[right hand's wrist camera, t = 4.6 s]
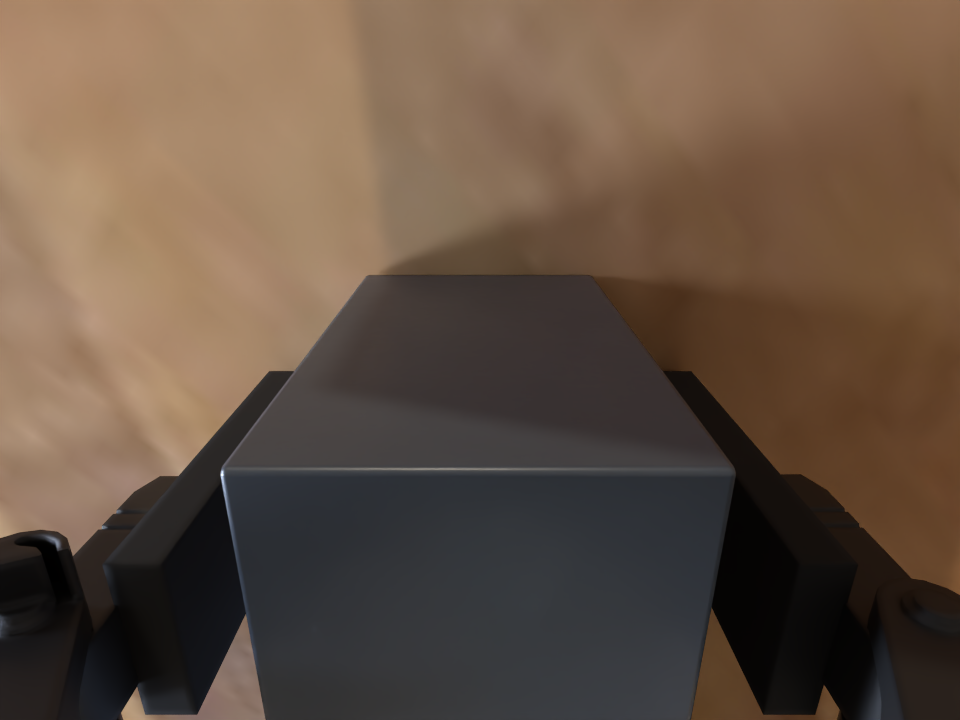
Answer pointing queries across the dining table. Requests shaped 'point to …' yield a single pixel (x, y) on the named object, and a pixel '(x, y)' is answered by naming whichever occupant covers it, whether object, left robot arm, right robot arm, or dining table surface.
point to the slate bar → (478, 512)
